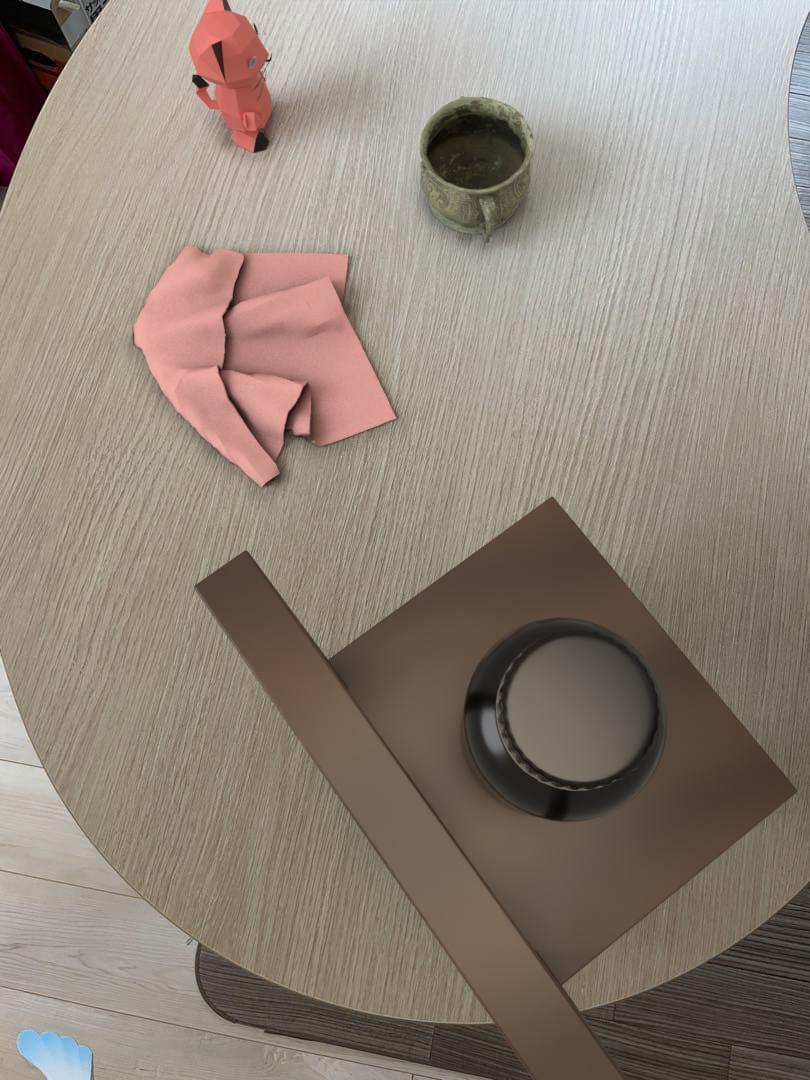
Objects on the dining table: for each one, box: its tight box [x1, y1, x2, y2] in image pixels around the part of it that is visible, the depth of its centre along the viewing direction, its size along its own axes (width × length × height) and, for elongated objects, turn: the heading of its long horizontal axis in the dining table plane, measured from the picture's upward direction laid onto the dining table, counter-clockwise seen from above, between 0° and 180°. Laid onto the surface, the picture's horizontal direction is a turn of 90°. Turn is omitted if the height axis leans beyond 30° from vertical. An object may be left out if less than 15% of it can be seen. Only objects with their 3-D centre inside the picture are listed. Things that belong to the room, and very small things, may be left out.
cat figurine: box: [188, 0, 273, 154], centre depth 74 cm, size 7×7×12 cm
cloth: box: [131, 245, 397, 488], centre depth 72 cm, size 20×22×2 cm
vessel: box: [418, 95, 535, 244], centre depth 74 cm, size 12×9×6 cm
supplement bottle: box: [461, 618, 667, 822], centre depth 34 cm, size 7×7×12 cm
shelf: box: [193, 496, 798, 1080], centre depth 43 cm, size 16×14×44 cm
